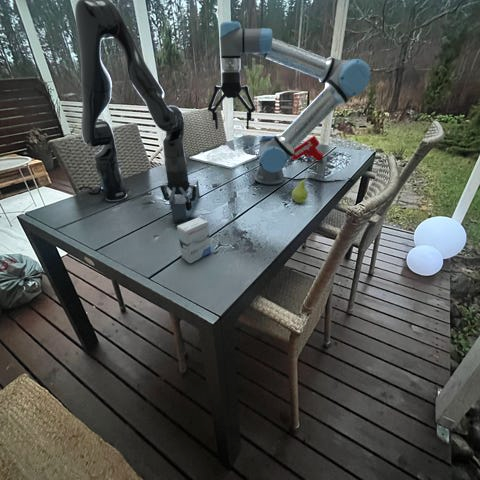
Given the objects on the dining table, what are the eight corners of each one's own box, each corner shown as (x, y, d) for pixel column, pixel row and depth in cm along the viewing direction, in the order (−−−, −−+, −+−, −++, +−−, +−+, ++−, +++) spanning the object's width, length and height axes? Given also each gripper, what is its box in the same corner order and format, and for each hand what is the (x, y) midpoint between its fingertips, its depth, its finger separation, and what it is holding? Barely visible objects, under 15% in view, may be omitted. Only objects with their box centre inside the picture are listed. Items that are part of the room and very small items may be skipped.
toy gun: (327, 155, 171) (314, 135, 167) (326, 157, 167) (314, 136, 164) (302, 170, 181) (290, 151, 177) (301, 172, 177) (288, 153, 174)
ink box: (202, 246, 92) (199, 215, 85) (211, 252, 89) (209, 221, 82) (180, 257, 87) (176, 225, 80) (190, 264, 84) (185, 231, 77)
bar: (188, 196, 128) (186, 178, 123) (199, 196, 128) (198, 179, 123) (173, 223, 106) (170, 203, 101) (187, 223, 106) (184, 203, 101)
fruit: (288, 200, 123) (290, 174, 116) (302, 197, 125) (305, 172, 119) (296, 206, 118) (299, 179, 111) (310, 203, 120) (314, 177, 114)
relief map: (231, 168, 161) (231, 160, 158) (189, 159, 179) (189, 151, 176) (257, 158, 179) (257, 150, 176) (217, 150, 197) (216, 142, 194)
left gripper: (153, 170, 95) (161, 213, 104) (193, 171, 94) (198, 214, 104) (159, 164, 102) (166, 205, 111) (197, 164, 101) (201, 205, 110)
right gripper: (198, 72, 105) (202, 130, 116) (262, 71, 104) (260, 130, 115) (201, 71, 111) (205, 126, 123) (262, 71, 110) (260, 126, 121)
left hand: (182, 209), depth 107 cm, fingers closed on bar, 5 cm apart
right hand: (232, 128), depth 119 cm, fingers open, 13 cm apart
